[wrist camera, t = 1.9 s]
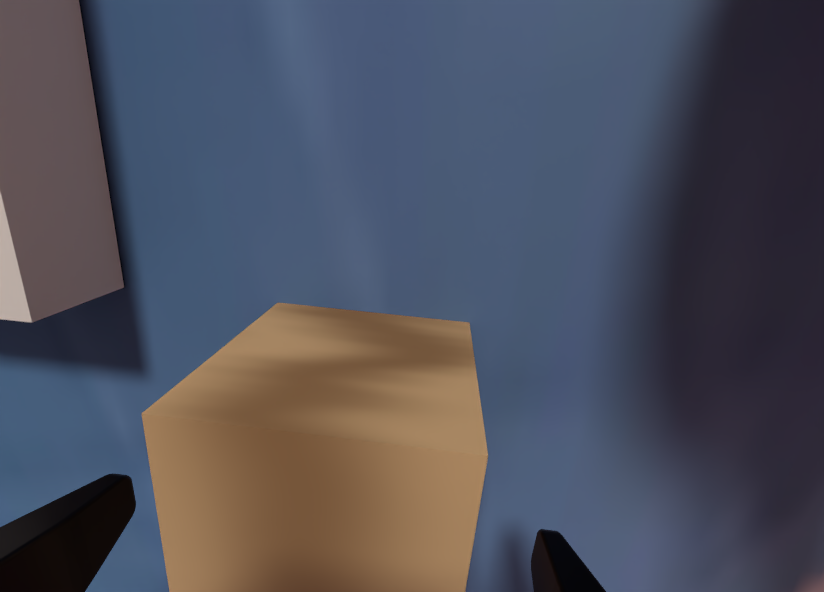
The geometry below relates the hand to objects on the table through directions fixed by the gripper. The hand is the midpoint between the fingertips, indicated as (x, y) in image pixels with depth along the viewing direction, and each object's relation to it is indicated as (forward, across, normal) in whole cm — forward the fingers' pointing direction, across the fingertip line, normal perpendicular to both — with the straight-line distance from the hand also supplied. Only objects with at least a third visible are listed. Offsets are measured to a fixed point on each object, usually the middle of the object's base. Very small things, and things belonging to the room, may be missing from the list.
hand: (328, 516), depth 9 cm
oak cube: (+5, 0, 0) cm, 5 cm away
